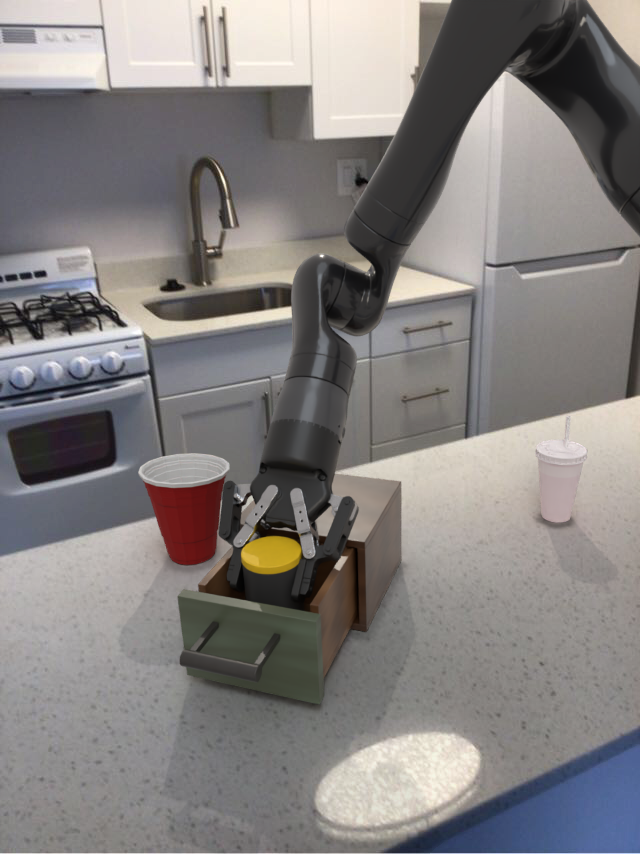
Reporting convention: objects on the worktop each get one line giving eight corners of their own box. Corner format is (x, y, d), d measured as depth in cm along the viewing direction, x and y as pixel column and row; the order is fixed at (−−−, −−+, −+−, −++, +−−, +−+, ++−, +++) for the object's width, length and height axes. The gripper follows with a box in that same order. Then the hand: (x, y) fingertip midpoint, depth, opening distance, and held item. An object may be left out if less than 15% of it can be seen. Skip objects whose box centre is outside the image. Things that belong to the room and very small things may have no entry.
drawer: (296, 751, 62) (290, 663, 59) (154, 716, 67) (142, 632, 63) (363, 618, 79) (362, 544, 76) (247, 597, 83) (241, 526, 80)
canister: (313, 610, 75) (310, 540, 73) (292, 645, 71) (287, 571, 68) (261, 601, 77) (256, 532, 74) (237, 634, 72) (230, 561, 69)
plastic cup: (253, 541, 97) (247, 454, 92) (204, 584, 88) (194, 490, 83) (184, 525, 101) (175, 442, 97) (131, 564, 92) (118, 474, 88)
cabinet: (366, 632, 78) (365, 542, 74) (238, 608, 83) (231, 522, 79) (401, 560, 91) (401, 481, 87) (289, 543, 96) (284, 467, 92)
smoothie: (588, 526, 97) (598, 424, 92) (538, 528, 97) (545, 426, 92) (572, 503, 103) (581, 407, 98) (525, 505, 103) (531, 408, 98)
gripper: (229, 410, 76) (181, 574, 70) (366, 423, 71) (328, 600, 65) (254, 439, 83) (213, 591, 76) (381, 453, 78) (348, 616, 72)
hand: (266, 594), depth 71 cm, fingers closed on canister, 5 cm apart
